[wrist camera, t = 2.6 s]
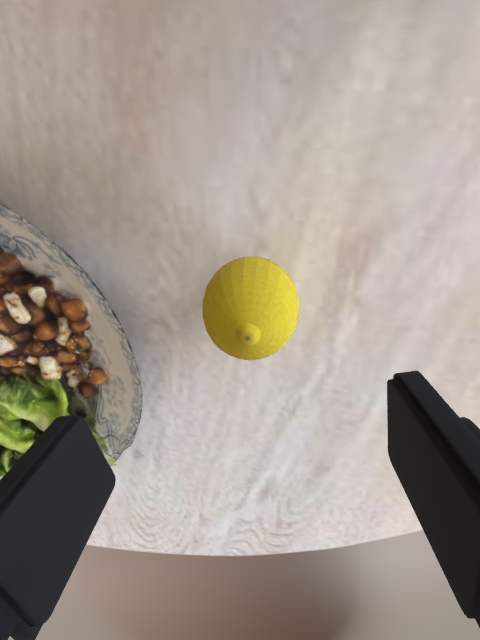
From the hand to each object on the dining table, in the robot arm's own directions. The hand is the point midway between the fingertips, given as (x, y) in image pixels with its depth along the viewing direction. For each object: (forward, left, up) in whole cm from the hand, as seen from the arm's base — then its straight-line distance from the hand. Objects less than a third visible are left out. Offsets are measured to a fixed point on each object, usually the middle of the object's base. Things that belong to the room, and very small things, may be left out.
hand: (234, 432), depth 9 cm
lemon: (0, 0, -13) cm, 13 cm away
